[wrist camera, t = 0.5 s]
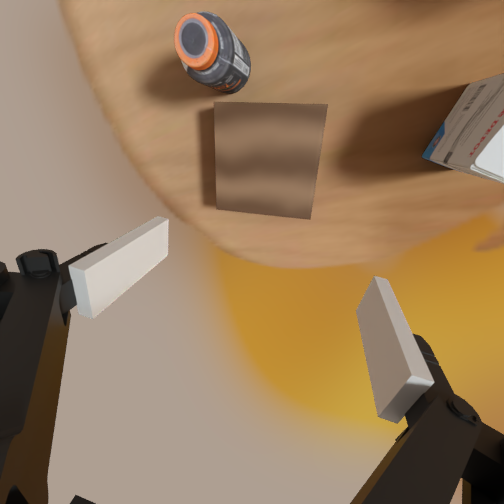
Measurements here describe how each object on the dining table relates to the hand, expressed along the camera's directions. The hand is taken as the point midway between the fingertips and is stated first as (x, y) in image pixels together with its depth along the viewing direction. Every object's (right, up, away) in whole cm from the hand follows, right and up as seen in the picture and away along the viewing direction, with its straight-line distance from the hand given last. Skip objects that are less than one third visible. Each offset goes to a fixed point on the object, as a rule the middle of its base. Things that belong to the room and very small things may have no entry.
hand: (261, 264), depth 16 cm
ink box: (+25, +16, +14) cm, 33 cm away
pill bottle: (-3, +25, +17) cm, 31 cm away
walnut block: (+2, +14, +21) cm, 25 cm away
